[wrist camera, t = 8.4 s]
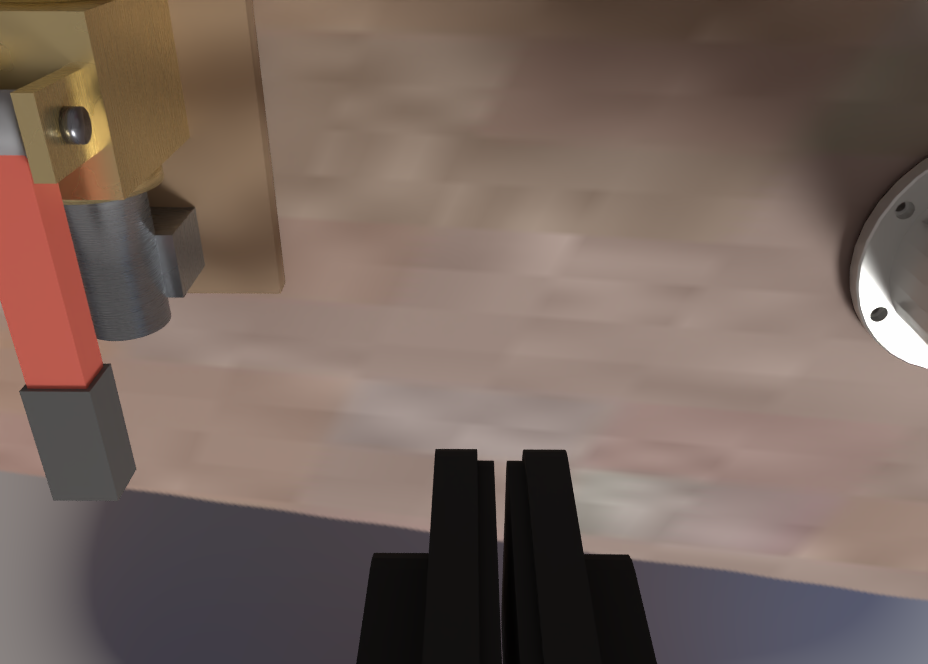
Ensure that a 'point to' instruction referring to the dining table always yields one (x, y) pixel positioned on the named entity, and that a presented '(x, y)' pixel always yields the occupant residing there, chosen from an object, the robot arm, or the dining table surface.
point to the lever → (56, 335)
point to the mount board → (224, 149)
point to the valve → (106, 146)
